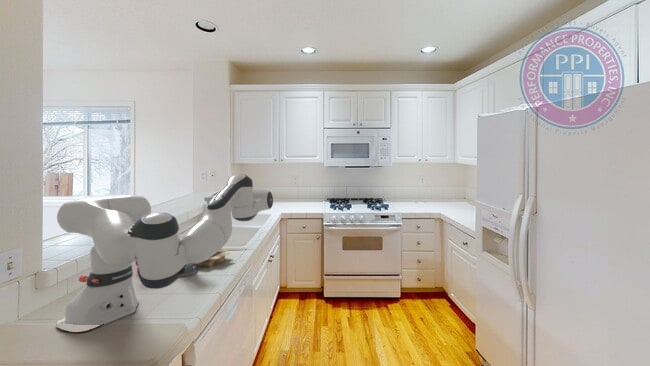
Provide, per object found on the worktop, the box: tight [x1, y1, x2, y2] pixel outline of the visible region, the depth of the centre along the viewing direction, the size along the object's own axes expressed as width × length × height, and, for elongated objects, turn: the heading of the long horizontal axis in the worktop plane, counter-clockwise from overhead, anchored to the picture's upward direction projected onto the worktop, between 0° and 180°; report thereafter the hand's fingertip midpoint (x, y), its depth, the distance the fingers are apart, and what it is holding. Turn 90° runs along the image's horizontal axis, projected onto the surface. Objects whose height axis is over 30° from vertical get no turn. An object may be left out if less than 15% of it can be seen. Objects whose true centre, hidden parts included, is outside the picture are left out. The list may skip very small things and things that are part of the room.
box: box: [184, 263, 194, 274], centre depth 139 cm, size 4×4×16 cm
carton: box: [193, 248, 231, 268], centre depth 153 cm, size 18×18×4 cm
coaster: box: [179, 267, 198, 278], centre depth 139 cm, size 10×10×1 cm
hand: (213, 197), depth 138 cm, fingers open, 8 cm apart
